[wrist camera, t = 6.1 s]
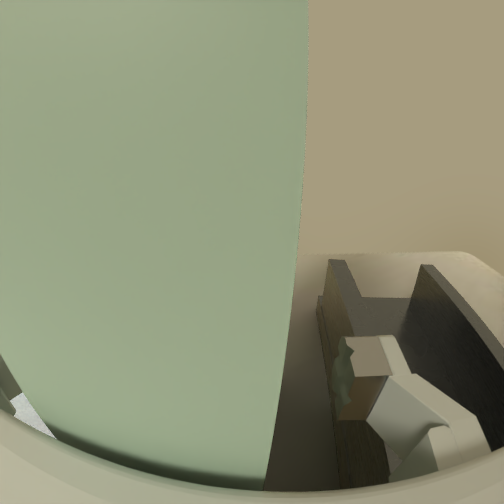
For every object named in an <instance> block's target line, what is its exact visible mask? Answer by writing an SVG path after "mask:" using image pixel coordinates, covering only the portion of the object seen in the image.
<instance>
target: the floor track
mask: <svg viewBox="0 0 504 504" xmlns="http://www.w3.org/2000/svg"><path fill="white" fill-rule="evenodd" d="M316 313H317V319H318V325H319V330H320V336H321V342H322V348H323V354H324V361H325V367H326V374H327V380H328V387H329V394H330V401H331V409H332V416H333V424H334V433H335V441H336V450H337V460H338V469H339V480H340V490H342V489H351V488H360V487H367V486H374V485H380V484H386V483H389V476H390V475H391V473H392V472H393V471H394V470H395V469H396V468H397V467H398V466H399V465H400V464H401V463H402V462H403V461H402V460H401V459H400V458H399V457H398V456H397V455H396V454H395V453H394V451H393V450H392V449H391V448H390V447H389V446H388V445H387V444H386V442H385V441H384V440H383V439H382V438H381V437H380V436H379V435H378V433H377V432H376V431H375V430H374V429H373V428H372V427H371V426H370V424H369V423H368V422H367V421H366V420H367V419H364V420H337V414H336V408H335V400H336V397H337V394H336V393H335V392H334V391H333V388H332V368H333V364H334V360H335V358H336V357H338V356H339V350H338V345H339V341H340V339H341V337H342V336H378V335H393V336H394V337H395V339H396V341H397V343H398V345H399V347H400V349H401V351H402V354H403V356H404V358H405V360H406V362H407V365H408V367H409V369H410V371H411V374H417V375H419V376H420V377H422V378H423V379H424V380H426V381H427V382H429V383H430V384H431V385H433V386H434V387H436V388H437V389H438V390H440V391H441V392H443V393H444V394H446V395H447V396H448V397H450V398H451V399H453V400H454V401H455V402H457V403H458V404H460V405H461V406H462V407H464V408H465V409H467V410H468V411H469V412H471V413H472V414H474V415H475V416H476V418H477V420H478V422H479V424H480V426H481V429H482V431H483V433H484V436H485V438H486V440H487V443H488V445H489V447H490V450H491V452H493V451H495V450H497V449H500V448H502V447H504V348H503V347H502V345H501V344H500V343H499V341H498V340H497V339H496V337H495V336H494V335H493V334H492V332H491V331H490V330H489V328H488V327H487V326H486V325H485V323H484V322H483V321H482V320H481V319H480V317H479V316H478V315H477V314H476V312H475V311H474V310H473V309H472V308H471V307H470V305H469V304H468V303H467V302H466V301H465V300H464V298H463V297H462V296H461V295H460V294H459V293H458V292H457V291H456V289H455V288H454V287H453V286H452V285H451V284H450V283H449V282H448V281H447V280H446V278H445V277H444V276H443V275H442V274H441V273H440V272H439V271H438V270H437V269H436V268H435V267H434V266H433V265H424V264H421V266H420V269H419V273H418V277H417V280H416V284H415V287H414V290H413V294H412V297H411V298H368V297H361V295H360V292H359V290H358V288H357V286H356V283H355V281H354V279H353V277H352V275H351V273H350V270H349V268H348V266H347V264H346V262H345V260H334V259H329V261H328V268H327V274H326V281H325V287H324V293H323V296H318V302H317V308H316Z"/></svg>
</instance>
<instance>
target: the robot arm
mask: <svg viewBox="0 0 504 504" xmlns="http://www.w3.org/2000/svg"><path fill="white" fill-rule="evenodd" d="M338 350H339V356H338V357H336V358H335V360H334V364H333V368H332V388H333V391H334V392H335V393H336V394H337V397H336V400H335V408H336V414H337V420H364V419H367V420H366V421H367V422H368V423H369V424H370V426H371V427H372V428H373V429H374V430H375V431H376V432H377V433H378V435H379V436H380V437H381V438H382V439H383V440H384V441H385V442H386V444H387V445H388V446H389V447H390V448H391V449H392V450H393V451H394V453H395V454H396V455H397V456H398V457H399V458H400V459H401V460H402V461H403V462H402V463H401V464H400V465H399V466H398V467H397V468H396V469H395V470H394V471H393V472H392V473H391V475H390V476H389V483H386V484H380V485H374V486H367V487H360V488H351V489H342V490H330V491H311V492H272V491H253V490H240V489H231V488H222V487H215V486H208V485H201V484H196V483H190V482H185V481H180V480H175V479H170V478H166V477H162V476H158V475H154V474H150V473H146V472H142V471H139V470H135V469H132V468H129V467H126V466H122V465H119V464H116V463H113V462H110V461H108V460H105V459H102V458H99V457H97V456H94V455H91V454H89V453H86V452H84V451H81V450H79V449H77V448H74V447H72V446H70V445H68V444H65V443H63V442H61V441H59V440H57V439H55V438H53V437H51V436H49V435H47V434H45V433H43V432H41V431H39V430H37V429H35V428H33V427H31V426H29V425H28V424H26V423H24V422H22V421H21V420H19V419H17V418H16V417H14V415H15V413H16V409H15V408H14V406H13V405H12V404H11V402H10V400H11V399H13V398H14V397H16V396H17V395H19V394H20V393H22V392H23V391H22V390H21V388H20V387H19V385H18V383H17V382H16V380H15V379H14V377H13V375H12V373H11V372H10V370H9V368H8V366H7V365H6V363H5V361H4V359H3V357H2V355H1V354H0V504H504V447H502V448H500V449H497V450H495V451H493V452H491V450H490V447H489V445H488V443H487V440H486V438H485V436H484V433H483V431H482V429H481V426H480V424H479V422H478V420H477V418H476V416H475V415H474V414H472V413H471V412H469V411H468V410H467V409H465V408H464V407H462V406H461V405H460V404H458V403H457V402H455V401H454V400H453V399H451V398H450V397H448V396H447V395H446V394H444V393H443V392H441V391H440V390H438V389H437V388H436V387H434V386H433V385H431V384H430V383H429V382H427V381H426V380H424V379H423V378H422V377H420V376H419V375H417V374H411V371H410V369H409V367H408V365H407V362H406V360H405V358H404V356H403V354H402V351H401V349H400V347H399V345H398V343H397V341H396V339H395V337H394V336H393V335H378V336H342V337H341V339H340V341H339V345H338Z"/></svg>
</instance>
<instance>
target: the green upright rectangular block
mask: <svg viewBox="0 0 504 504" xmlns="http://www.w3.org/2000/svg"><path fill="white" fill-rule="evenodd" d="M307 90H308V0H0V354H1V355H2V357H3V359H4V361H5V363H6V365H7V366H8V368H9V370H10V372H11V373H12V375H13V377H14V379H15V380H16V382H17V383H18V385H19V387H20V388H21V390H22V391H23V393H24V395H25V396H26V398H27V399H28V401H29V402H30V404H31V405H32V407H33V408H34V409H35V411H36V412H37V414H38V415H39V416H40V418H41V419H42V420H43V422H44V423H45V424H46V426H47V427H48V428H49V430H50V431H51V432H52V433H53V435H54V436H55V437H56V438H57V440H59V441H61V442H63V443H65V444H68V445H70V446H72V447H74V448H77V449H79V450H81V451H84V452H86V453H89V454H91V455H94V456H97V457H99V458H102V459H105V460H108V461H110V462H113V463H116V464H119V465H122V466H126V467H129V468H132V469H135V470H139V471H142V472H146V473H150V474H154V475H158V476H162V477H166V478H170V479H175V480H180V481H185V482H190V483H196V484H201V485H208V486H215V487H222V488H231V489H240V490H253V491H263V487H264V482H265V477H266V471H267V466H268V461H269V455H270V450H271V444H272V439H273V433H274V427H275V421H276V415H277V409H278V402H279V396H280V389H281V383H282V376H283V369H284V362H285V354H286V347H287V339H288V331H289V323H290V315H291V307H292V298H293V289H294V280H295V270H296V260H297V249H298V239H299V228H300V215H301V203H302V189H303V174H304V157H305V140H306V119H307Z"/></svg>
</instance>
